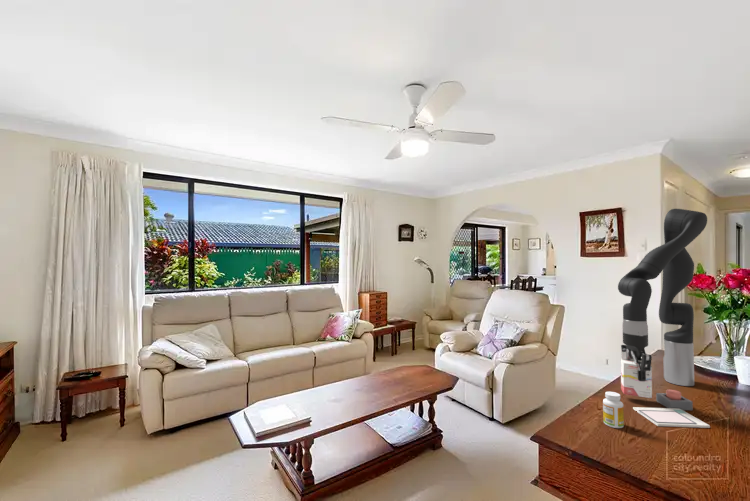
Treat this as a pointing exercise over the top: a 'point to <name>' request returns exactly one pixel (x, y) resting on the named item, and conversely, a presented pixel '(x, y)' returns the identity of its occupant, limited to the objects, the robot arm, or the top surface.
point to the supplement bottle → (613, 410)
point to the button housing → (674, 402)
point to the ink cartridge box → (634, 379)
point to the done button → (673, 394)
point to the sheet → (670, 417)
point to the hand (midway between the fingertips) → (636, 377)
